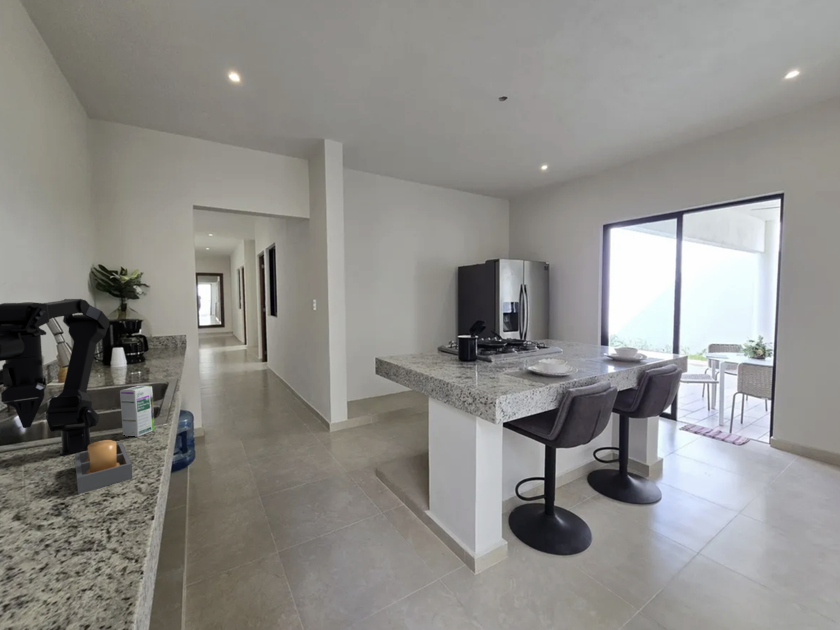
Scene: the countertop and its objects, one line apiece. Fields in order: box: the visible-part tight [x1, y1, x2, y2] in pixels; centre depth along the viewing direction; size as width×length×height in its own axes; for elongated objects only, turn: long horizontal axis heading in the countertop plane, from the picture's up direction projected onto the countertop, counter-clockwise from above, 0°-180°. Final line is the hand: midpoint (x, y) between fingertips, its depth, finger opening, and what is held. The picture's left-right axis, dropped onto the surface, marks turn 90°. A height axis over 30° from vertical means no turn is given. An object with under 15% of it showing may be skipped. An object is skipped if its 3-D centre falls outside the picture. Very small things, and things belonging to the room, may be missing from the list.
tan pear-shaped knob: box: [87, 440, 120, 474], centre depth 82 cm, size 6×6×7 cm
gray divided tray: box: [74, 439, 133, 495], centre depth 85 cm, size 17×9×6 cm, turn 45°
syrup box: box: [119, 384, 156, 438], centre depth 110 cm, size 6×6×14 cm
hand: (28, 422), depth 83 cm, fingers open, 9 cm apart
